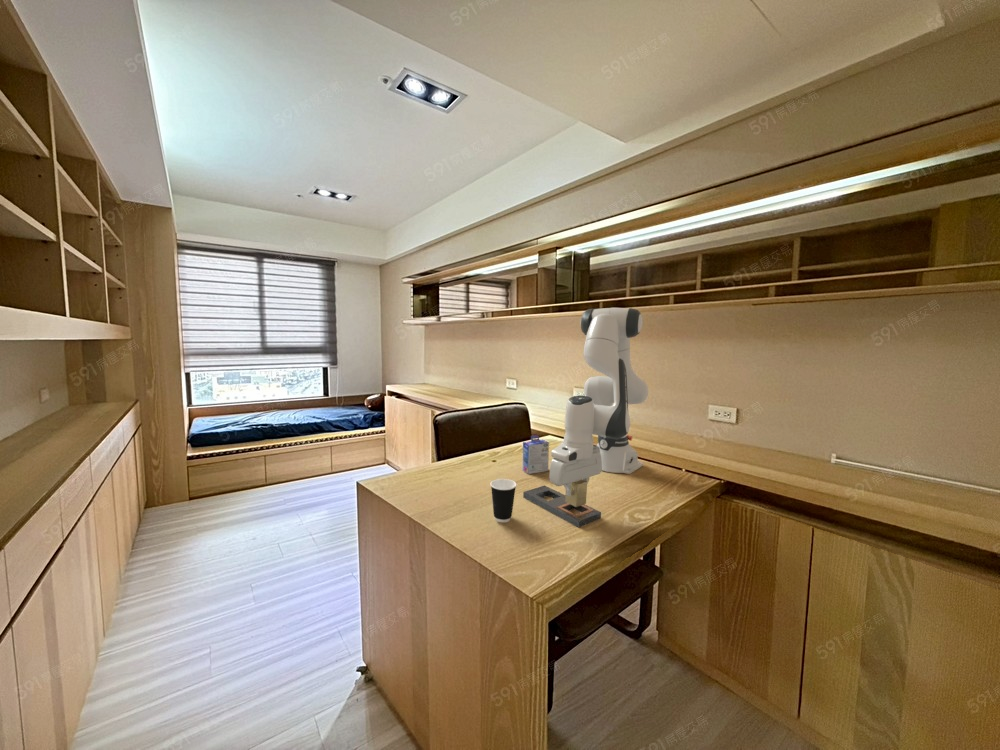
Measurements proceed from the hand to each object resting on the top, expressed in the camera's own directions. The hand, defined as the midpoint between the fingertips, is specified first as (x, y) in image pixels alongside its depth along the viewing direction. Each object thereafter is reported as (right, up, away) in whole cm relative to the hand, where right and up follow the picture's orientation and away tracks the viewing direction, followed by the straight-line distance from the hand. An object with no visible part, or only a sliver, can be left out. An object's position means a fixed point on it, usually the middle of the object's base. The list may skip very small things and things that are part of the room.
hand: (576, 492), depth 117 cm
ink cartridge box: (-9, -3, +39) cm, 40 cm away
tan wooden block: (0, -3, 0) cm, 3 cm away
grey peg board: (-4, -7, +6) cm, 10 cm away
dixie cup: (-23, -7, -2) cm, 24 cm away
